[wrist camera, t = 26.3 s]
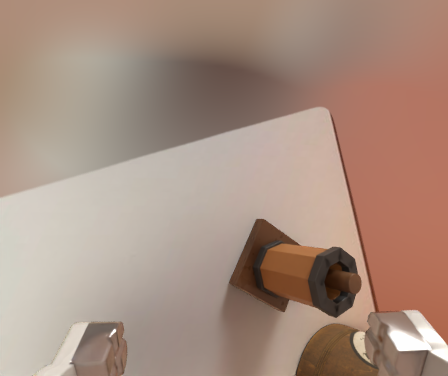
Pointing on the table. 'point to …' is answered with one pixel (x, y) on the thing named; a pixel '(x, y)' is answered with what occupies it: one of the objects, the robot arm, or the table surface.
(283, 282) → the orange-brown octagonal tube
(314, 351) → the wooden container
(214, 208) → the table surface
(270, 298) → the stand
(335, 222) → the table surface
